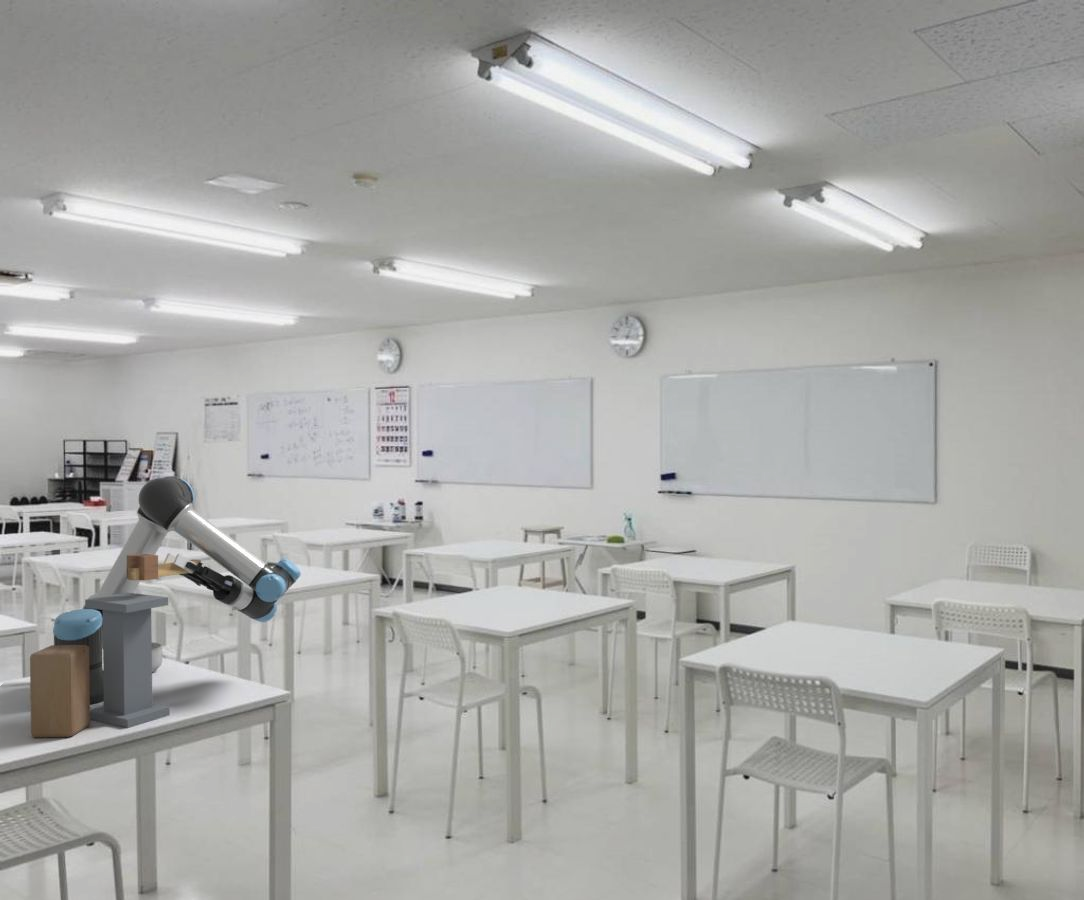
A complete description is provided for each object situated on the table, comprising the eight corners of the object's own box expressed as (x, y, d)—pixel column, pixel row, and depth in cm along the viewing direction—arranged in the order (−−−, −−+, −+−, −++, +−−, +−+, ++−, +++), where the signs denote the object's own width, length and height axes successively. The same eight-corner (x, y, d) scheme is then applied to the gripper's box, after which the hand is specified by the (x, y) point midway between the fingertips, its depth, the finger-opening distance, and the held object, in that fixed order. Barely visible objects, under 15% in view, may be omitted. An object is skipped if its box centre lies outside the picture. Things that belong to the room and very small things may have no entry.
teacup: (170, 670, 280) (170, 644, 280) (138, 678, 271) (137, 651, 271) (142, 665, 288) (141, 639, 288) (110, 672, 279) (109, 646, 279)
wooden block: (91, 725, 226) (90, 643, 226) (72, 738, 216) (71, 653, 216) (50, 725, 226) (49, 644, 226) (29, 739, 216) (28, 653, 216)
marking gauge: (123, 579, 235) (123, 555, 235) (188, 570, 252) (188, 548, 252) (141, 581, 231) (140, 557, 231) (205, 571, 249) (205, 549, 249)
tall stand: (86, 718, 232) (85, 599, 231) (128, 706, 242) (127, 592, 242) (127, 727, 224) (126, 604, 224) (169, 714, 234) (168, 597, 234)
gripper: (247, 606, 255) (186, 573, 238) (207, 602, 263) (145, 569, 246) (257, 581, 258) (197, 546, 241) (217, 578, 266) (157, 544, 249)
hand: (171, 558), depth 243 cm, fingers closed on marking gauge, 3 cm apart
